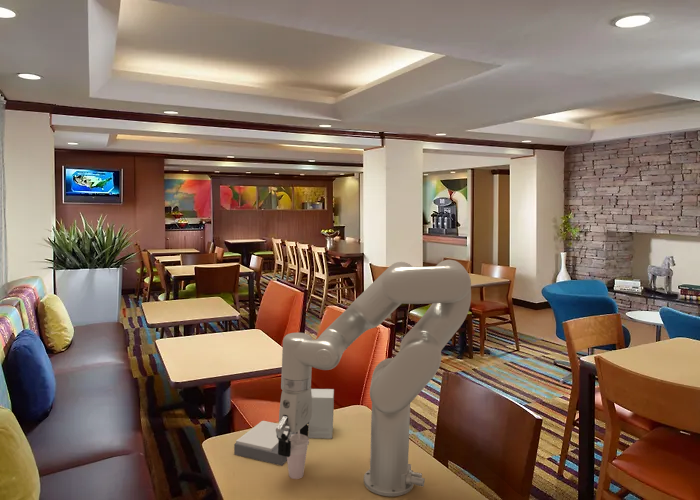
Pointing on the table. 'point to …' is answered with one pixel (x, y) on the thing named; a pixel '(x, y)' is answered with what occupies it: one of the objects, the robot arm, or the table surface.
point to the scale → (261, 444)
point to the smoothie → (297, 455)
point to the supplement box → (321, 413)
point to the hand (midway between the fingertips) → (293, 446)
